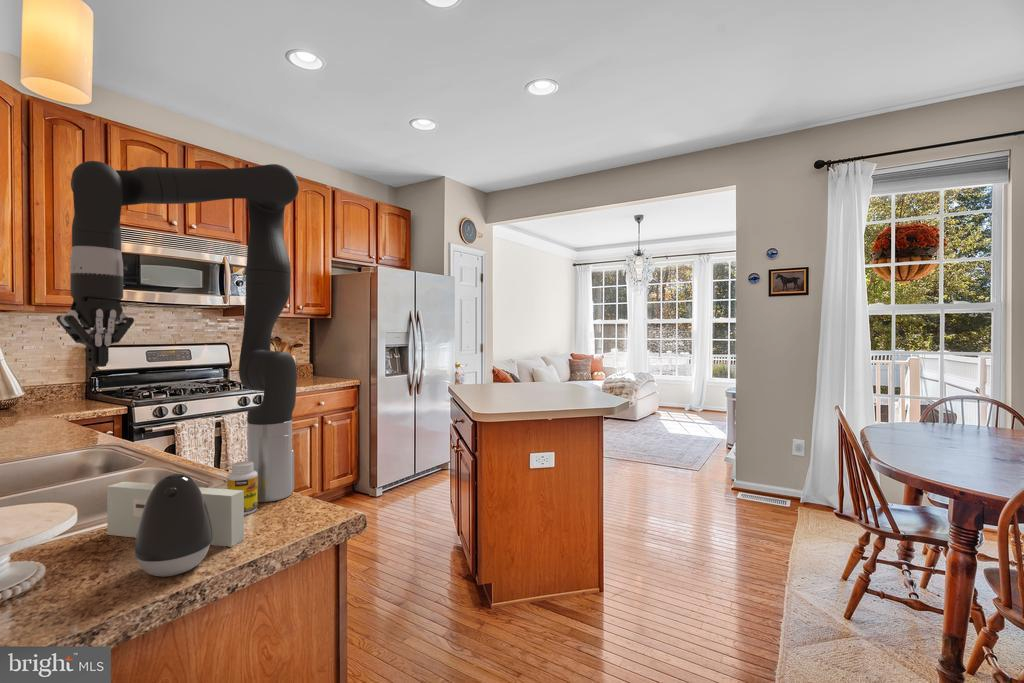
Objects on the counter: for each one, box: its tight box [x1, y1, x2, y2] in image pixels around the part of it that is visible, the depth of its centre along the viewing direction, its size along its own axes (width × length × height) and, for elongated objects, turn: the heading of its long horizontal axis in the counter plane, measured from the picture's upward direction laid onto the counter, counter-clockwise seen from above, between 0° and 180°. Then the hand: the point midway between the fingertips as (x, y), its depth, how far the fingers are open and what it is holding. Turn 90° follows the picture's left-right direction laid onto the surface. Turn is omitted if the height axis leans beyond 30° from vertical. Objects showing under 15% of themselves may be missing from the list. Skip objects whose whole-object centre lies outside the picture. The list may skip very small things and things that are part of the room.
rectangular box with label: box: [106, 481, 245, 548], centre depth 89 cm, size 3×26×9 cm, turn 80°
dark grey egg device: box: [133, 472, 212, 577], centre depth 78 cm, size 10×10×15 cm
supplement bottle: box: [226, 460, 258, 516], centre depth 102 cm, size 6×6×10 cm
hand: (98, 366), depth 91 cm, fingers closed
